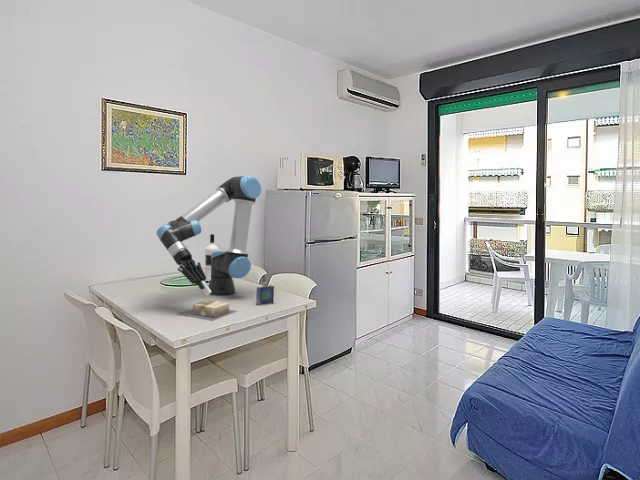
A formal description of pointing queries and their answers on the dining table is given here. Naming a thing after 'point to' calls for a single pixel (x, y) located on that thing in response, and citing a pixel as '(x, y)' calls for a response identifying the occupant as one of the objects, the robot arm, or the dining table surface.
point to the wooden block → (211, 308)
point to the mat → (190, 314)
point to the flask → (265, 294)
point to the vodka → (209, 256)
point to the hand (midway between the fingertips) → (208, 293)
